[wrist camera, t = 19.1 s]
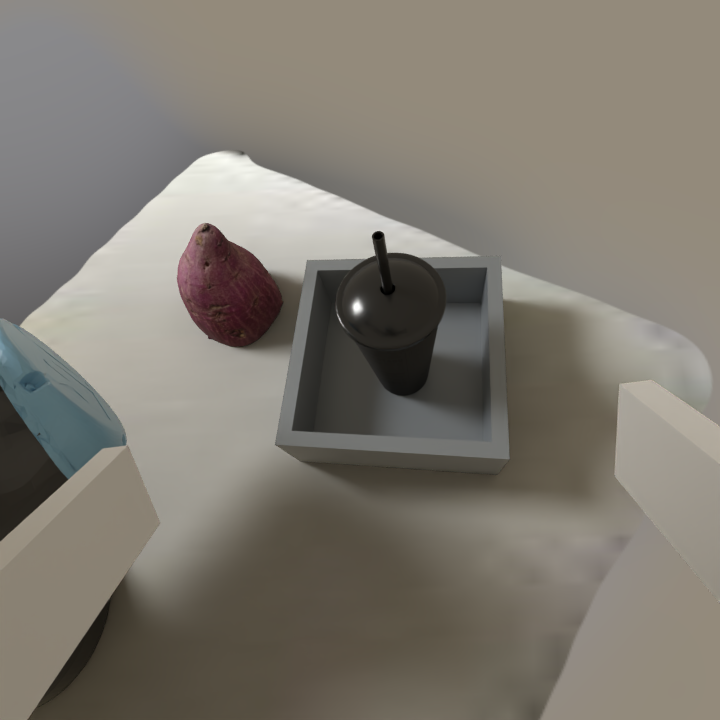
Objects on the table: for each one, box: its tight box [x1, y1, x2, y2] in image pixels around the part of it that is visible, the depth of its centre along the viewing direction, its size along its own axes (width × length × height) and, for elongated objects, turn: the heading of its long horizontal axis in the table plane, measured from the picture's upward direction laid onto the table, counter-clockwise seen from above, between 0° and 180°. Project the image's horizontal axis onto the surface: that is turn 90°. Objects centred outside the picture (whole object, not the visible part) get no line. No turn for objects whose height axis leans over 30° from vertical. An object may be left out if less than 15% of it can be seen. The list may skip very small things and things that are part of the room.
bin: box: [275, 256, 510, 475], centre depth 39 cm, size 18×18×7 cm
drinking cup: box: [335, 231, 447, 396], centre depth 32 cm, size 8×8×20 cm
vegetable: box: [177, 223, 283, 347], centre depth 44 cm, size 10×10×15 cm
